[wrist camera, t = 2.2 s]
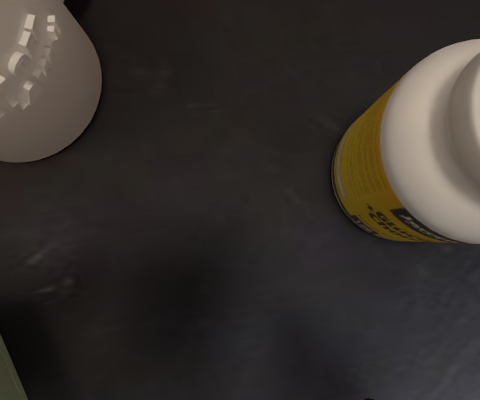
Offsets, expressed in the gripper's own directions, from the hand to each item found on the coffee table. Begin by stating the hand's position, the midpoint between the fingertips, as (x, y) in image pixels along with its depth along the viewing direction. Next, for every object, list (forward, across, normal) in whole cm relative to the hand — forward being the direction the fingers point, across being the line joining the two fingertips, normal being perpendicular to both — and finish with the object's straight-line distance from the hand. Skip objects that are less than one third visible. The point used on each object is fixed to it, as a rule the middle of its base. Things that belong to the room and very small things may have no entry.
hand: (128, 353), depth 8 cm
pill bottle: (+15, -8, +1) cm, 17 cm away
